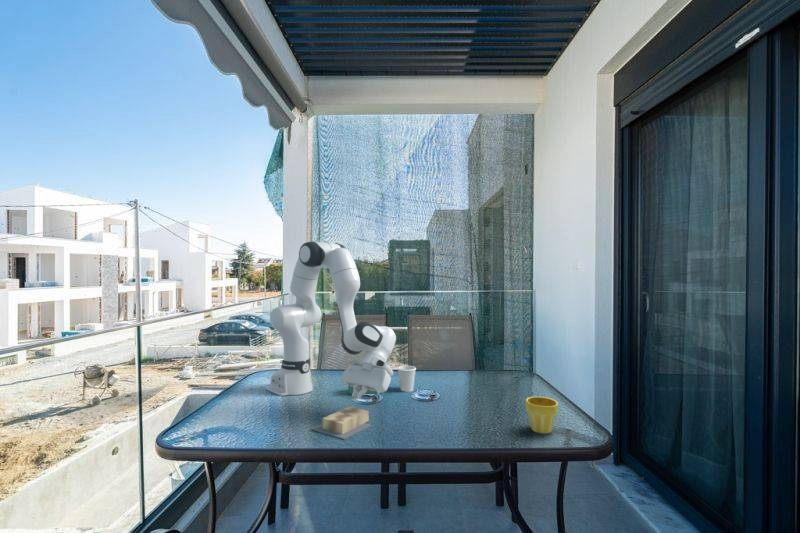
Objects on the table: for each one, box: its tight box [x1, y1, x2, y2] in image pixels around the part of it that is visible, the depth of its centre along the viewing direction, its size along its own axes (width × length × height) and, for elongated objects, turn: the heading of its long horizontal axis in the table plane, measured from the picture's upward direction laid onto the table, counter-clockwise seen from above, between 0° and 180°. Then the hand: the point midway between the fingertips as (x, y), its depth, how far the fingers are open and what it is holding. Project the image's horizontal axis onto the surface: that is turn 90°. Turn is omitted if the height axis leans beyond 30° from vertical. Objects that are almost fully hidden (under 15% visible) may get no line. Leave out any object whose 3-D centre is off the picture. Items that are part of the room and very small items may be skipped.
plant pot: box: [525, 396, 559, 435], centre depth 139 cm, size 10×10×10 cm
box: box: [347, 385, 382, 396], centre depth 181 cm, size 7×14×8 cm, turn 75°
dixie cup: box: [397, 365, 417, 393], centre depth 185 cm, size 8×8×10 cm
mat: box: [311, 422, 372, 441], centre depth 142 cm, size 15×14×1 cm
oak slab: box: [322, 406, 370, 434], centre depth 144 cm, size 9×4×14 cm
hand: (355, 397), depth 148 cm, fingers closed
